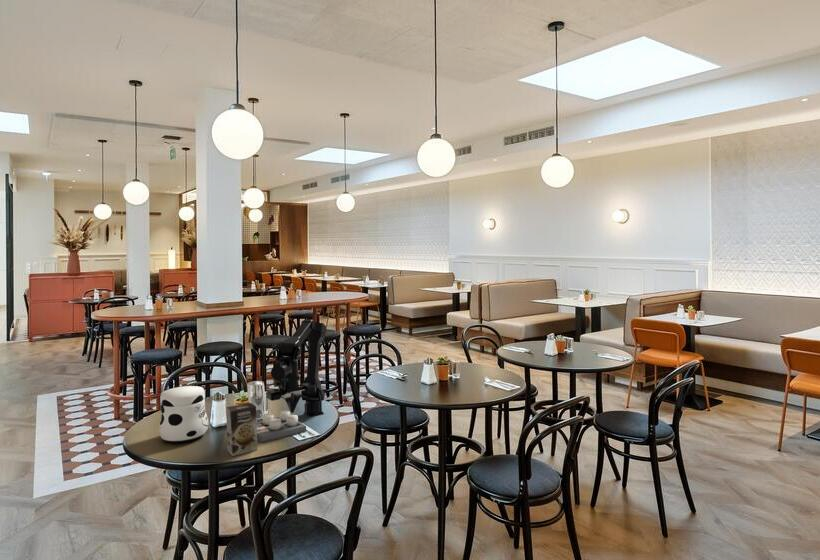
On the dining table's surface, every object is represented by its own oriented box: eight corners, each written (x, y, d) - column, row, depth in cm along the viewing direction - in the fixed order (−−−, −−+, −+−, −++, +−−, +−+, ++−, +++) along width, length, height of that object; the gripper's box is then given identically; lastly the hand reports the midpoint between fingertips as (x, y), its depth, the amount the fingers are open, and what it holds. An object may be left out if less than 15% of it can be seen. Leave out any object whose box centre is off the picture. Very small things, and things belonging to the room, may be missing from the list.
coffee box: (232, 456, 179) (230, 411, 177) (226, 451, 184) (225, 406, 183) (258, 450, 184) (256, 406, 183) (252, 444, 189) (250, 401, 188)
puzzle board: (288, 420, 215) (288, 413, 215) (306, 431, 202) (306, 424, 201) (245, 430, 204) (245, 423, 204) (261, 442, 191) (261, 435, 190)
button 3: (287, 416, 212) (287, 409, 212) (292, 419, 208) (292, 412, 208) (277, 419, 209) (277, 411, 209) (282, 422, 206) (281, 414, 205)
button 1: (271, 420, 208) (271, 413, 207) (275, 423, 204) (275, 416, 204) (261, 423, 205) (260, 415, 205) (265, 426, 201) (264, 418, 201)
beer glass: (268, 415, 222) (266, 380, 221) (261, 420, 215) (260, 385, 214) (252, 414, 223) (251, 380, 221) (245, 420, 216) (244, 385, 215)
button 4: (295, 421, 206) (294, 414, 206) (299, 424, 203) (299, 416, 203) (284, 423, 204) (284, 416, 203) (289, 426, 200) (289, 419, 200)
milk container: (218, 434, 200) (216, 389, 198) (176, 449, 186) (173, 400, 184) (192, 426, 210) (189, 382, 208) (150, 440, 195) (147, 393, 194)
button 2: (278, 425, 202) (278, 417, 202) (283, 428, 199) (282, 420, 198) (267, 427, 199) (267, 420, 199) (272, 431, 196) (271, 423, 196)
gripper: (303, 366, 214) (304, 403, 215) (259, 373, 203) (261, 412, 204) (315, 371, 205) (317, 409, 206) (270, 379, 194) (272, 420, 195)
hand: (292, 412), depth 203 cm, fingers closed
